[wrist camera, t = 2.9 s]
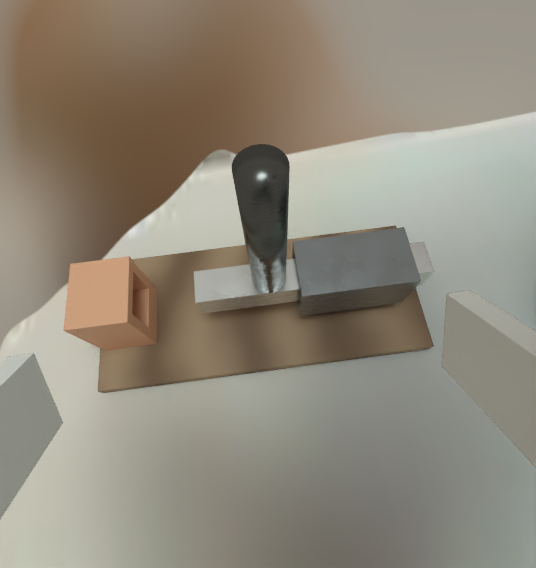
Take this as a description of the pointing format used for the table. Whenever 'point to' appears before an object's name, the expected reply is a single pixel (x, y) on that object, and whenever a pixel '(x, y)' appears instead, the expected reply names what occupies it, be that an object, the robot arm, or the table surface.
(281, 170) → the sliding bolt
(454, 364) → the robot arm
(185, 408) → the table surface
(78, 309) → the socket block
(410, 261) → the outer sleeve
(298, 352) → the base board
